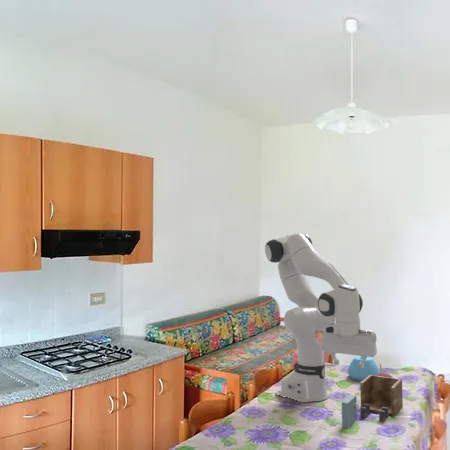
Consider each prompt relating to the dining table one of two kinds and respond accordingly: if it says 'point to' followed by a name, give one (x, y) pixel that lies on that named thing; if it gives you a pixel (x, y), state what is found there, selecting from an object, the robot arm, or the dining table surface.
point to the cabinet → (381, 396)
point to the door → (349, 411)
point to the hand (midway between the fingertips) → (348, 366)
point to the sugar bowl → (362, 373)
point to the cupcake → (383, 374)
